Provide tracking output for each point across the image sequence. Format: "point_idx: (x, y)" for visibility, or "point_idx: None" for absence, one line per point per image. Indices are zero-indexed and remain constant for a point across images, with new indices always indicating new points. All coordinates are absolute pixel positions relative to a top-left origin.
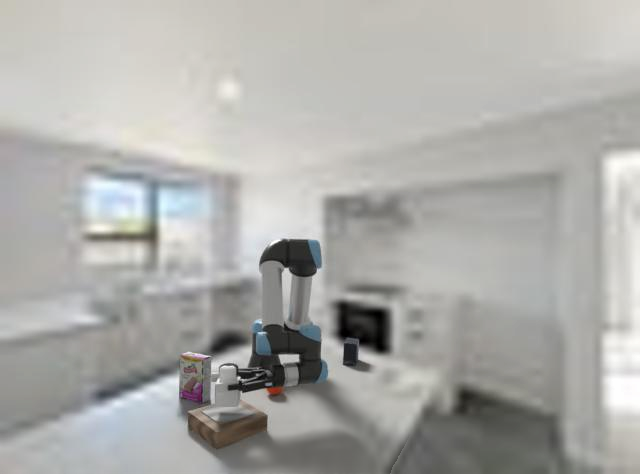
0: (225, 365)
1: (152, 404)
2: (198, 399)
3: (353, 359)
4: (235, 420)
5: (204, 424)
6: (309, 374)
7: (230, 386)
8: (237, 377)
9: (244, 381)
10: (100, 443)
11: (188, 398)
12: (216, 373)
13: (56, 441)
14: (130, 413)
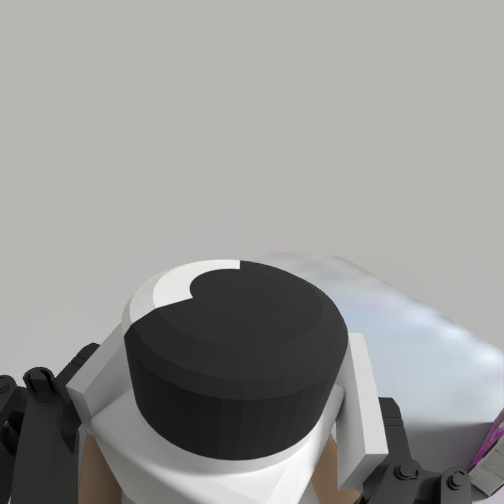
0: (236, 270)
1: (455, 375)
2: (474, 461)
3: None
4: (123, 495)
5: None
6: None
7: (83, 352)
8: (151, 434)
9: (33, 426)
10: None
11: (485, 438)
12: (350, 354)
13: (321, 276)
14: (411, 344)
